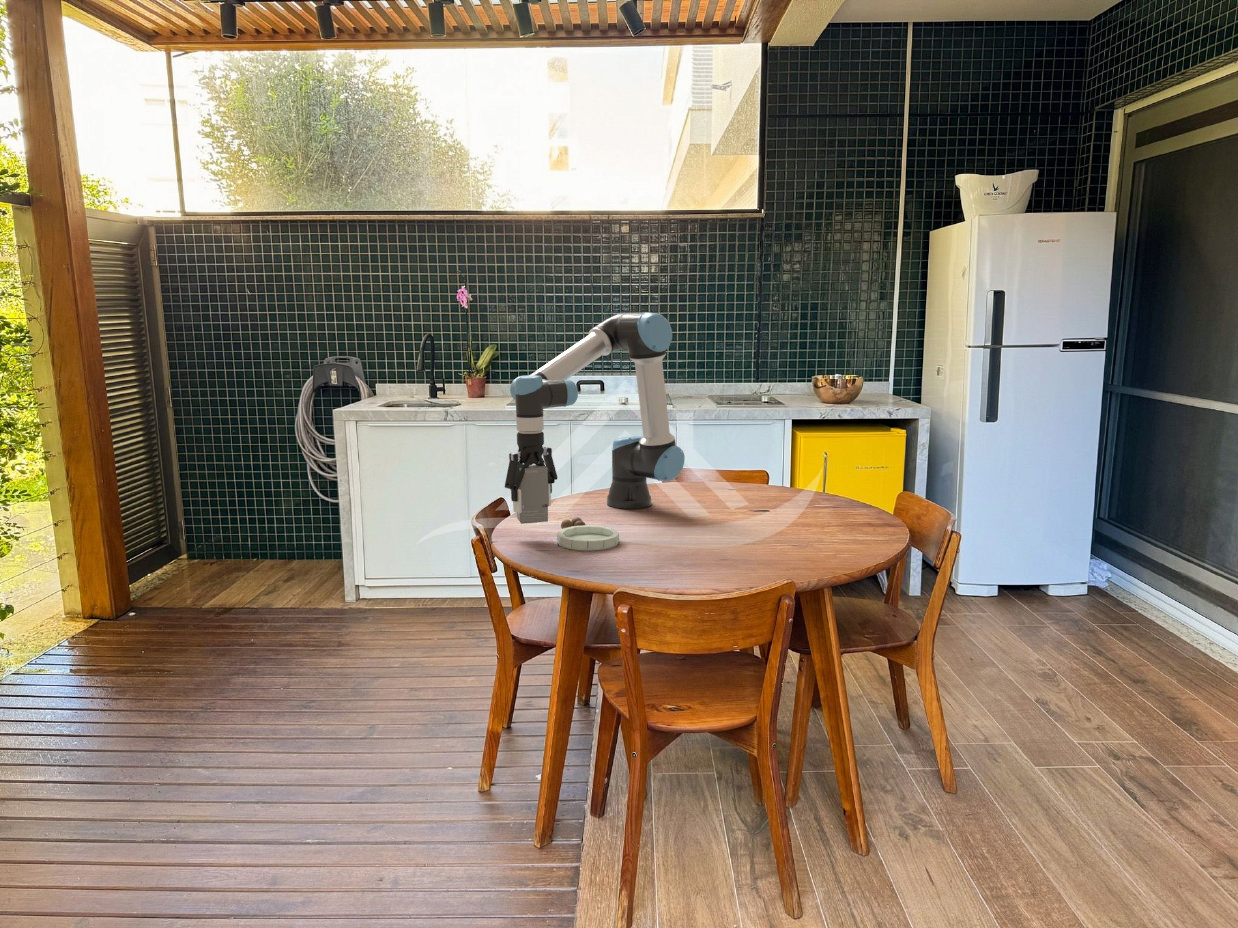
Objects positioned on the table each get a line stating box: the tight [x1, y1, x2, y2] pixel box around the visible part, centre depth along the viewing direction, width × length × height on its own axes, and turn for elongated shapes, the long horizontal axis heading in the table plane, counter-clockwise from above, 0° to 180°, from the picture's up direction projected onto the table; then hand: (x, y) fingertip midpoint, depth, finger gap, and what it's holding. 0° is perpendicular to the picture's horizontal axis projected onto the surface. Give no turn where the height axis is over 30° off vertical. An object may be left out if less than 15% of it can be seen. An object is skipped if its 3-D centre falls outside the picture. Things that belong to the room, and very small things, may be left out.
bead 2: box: [570, 517, 583, 526], centre depth 249 cm, size 4×4×4 cm
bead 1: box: [560, 519, 573, 529], centre depth 246 cm, size 4×4×4 cm
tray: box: [556, 524, 620, 552], centre depth 234 cm, size 17×17×3 cm
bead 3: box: [574, 520, 587, 526], centre depth 245 cm, size 4×4×4 cm
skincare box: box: [516, 464, 549, 525], centre depth 236 cm, size 8×7×16 cm
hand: (532, 508), depth 236 cm, fingers closed on skincare box, 10 cm apart
